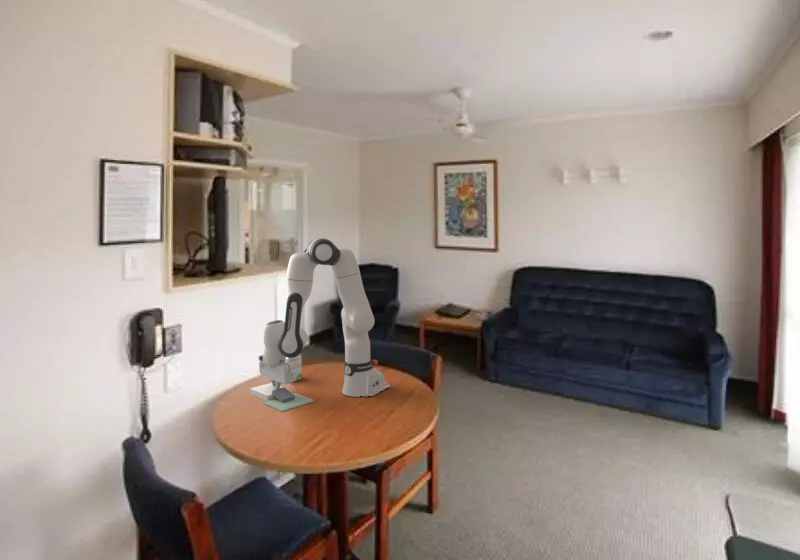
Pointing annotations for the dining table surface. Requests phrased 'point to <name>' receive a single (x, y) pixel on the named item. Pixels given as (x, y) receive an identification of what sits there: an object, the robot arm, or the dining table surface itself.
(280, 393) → the slate coaster
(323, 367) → the dining table surface
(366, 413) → the dining table surface
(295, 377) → the ink box
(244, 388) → the dining table surface
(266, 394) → the stand
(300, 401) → the mat
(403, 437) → the dining table surface
